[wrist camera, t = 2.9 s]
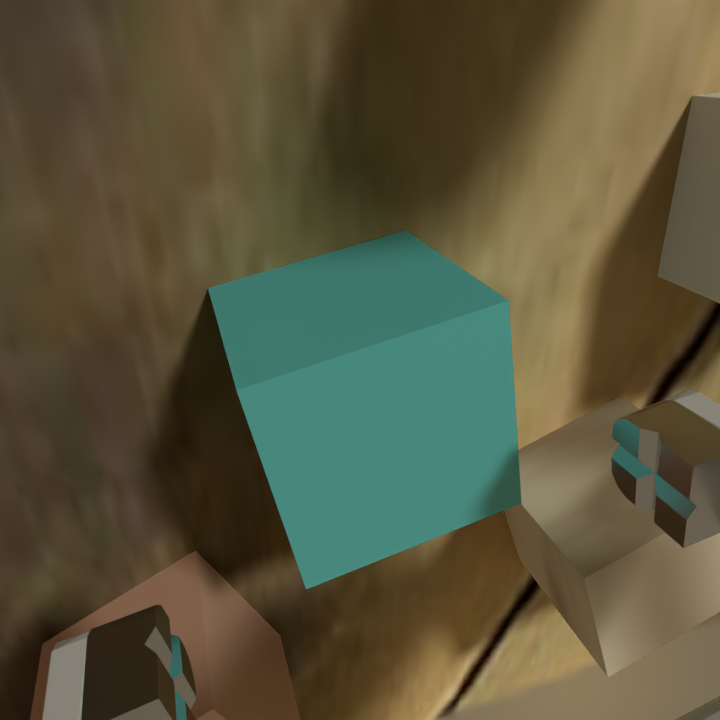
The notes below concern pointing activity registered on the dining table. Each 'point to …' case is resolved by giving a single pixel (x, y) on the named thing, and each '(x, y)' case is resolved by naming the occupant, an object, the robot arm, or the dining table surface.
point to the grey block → (696, 205)
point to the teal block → (374, 398)
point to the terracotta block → (204, 643)
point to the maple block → (606, 547)
